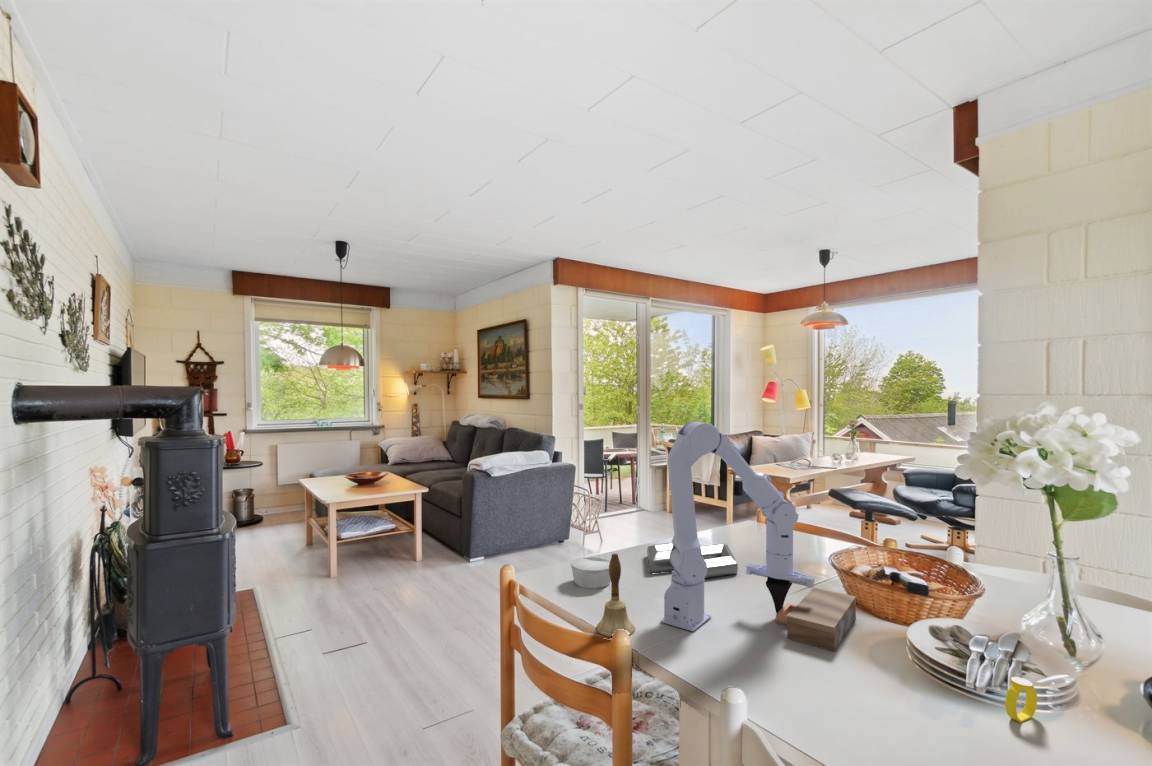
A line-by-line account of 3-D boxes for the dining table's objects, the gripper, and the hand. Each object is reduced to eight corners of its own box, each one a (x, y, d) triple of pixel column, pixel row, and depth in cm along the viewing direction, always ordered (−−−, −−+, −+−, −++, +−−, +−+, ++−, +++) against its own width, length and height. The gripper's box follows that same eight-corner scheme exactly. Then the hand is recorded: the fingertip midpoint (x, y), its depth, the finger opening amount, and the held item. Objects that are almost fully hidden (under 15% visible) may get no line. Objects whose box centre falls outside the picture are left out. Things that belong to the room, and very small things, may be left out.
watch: (1021, 711, 89) (1023, 673, 90) (1041, 720, 87) (1043, 682, 87) (999, 717, 87) (1001, 679, 87) (1019, 727, 84) (1021, 688, 85)
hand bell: (588, 631, 117) (588, 556, 117) (608, 617, 124) (608, 546, 124) (623, 641, 113) (623, 563, 113) (641, 626, 119) (641, 552, 119)
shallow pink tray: (835, 638, 114) (835, 629, 114) (776, 623, 121) (776, 614, 121) (843, 625, 120) (843, 616, 120) (787, 611, 127) (787, 602, 127)
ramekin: (614, 576, 151) (614, 557, 151) (613, 591, 140) (613, 571, 140) (573, 575, 152) (573, 555, 152) (569, 590, 141) (569, 569, 141)
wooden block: (834, 651, 108) (834, 627, 108) (787, 638, 114) (787, 615, 114) (855, 617, 124) (855, 596, 124) (813, 607, 130) (813, 587, 130)
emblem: (670, 529, 180) (755, 545, 163) (670, 546, 180) (755, 563, 163) (623, 550, 157) (715, 570, 140) (623, 569, 157) (715, 591, 140)
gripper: (818, 553, 123) (817, 614, 123) (754, 542, 132) (753, 598, 132) (809, 561, 118) (809, 625, 118) (743, 549, 127) (742, 608, 127)
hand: (779, 611), depth 125 cm, fingers closed
